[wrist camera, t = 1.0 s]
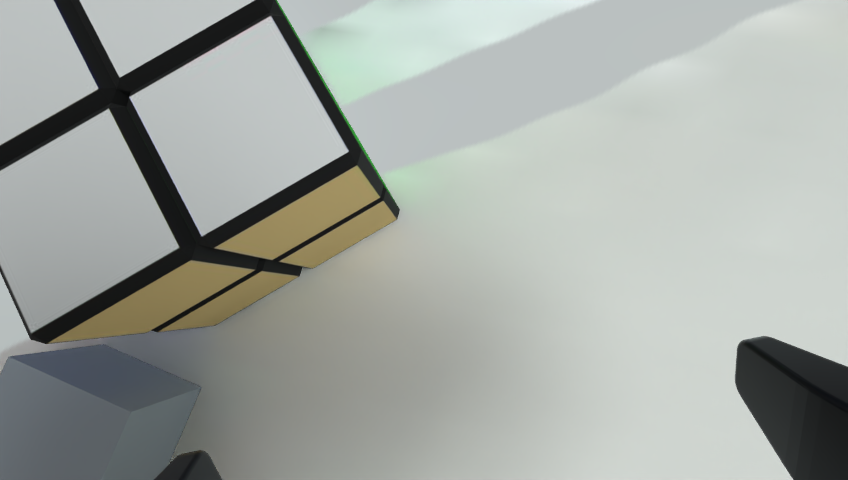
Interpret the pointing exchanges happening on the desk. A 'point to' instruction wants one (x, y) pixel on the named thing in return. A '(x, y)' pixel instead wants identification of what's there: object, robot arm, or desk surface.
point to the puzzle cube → (167, 164)
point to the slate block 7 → (89, 416)
